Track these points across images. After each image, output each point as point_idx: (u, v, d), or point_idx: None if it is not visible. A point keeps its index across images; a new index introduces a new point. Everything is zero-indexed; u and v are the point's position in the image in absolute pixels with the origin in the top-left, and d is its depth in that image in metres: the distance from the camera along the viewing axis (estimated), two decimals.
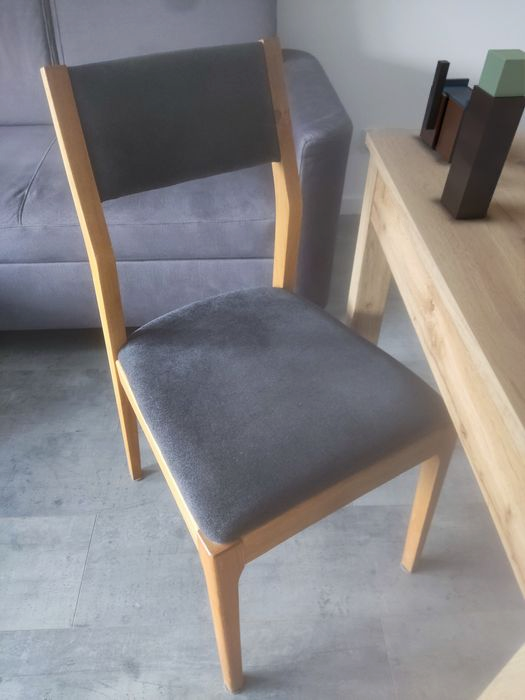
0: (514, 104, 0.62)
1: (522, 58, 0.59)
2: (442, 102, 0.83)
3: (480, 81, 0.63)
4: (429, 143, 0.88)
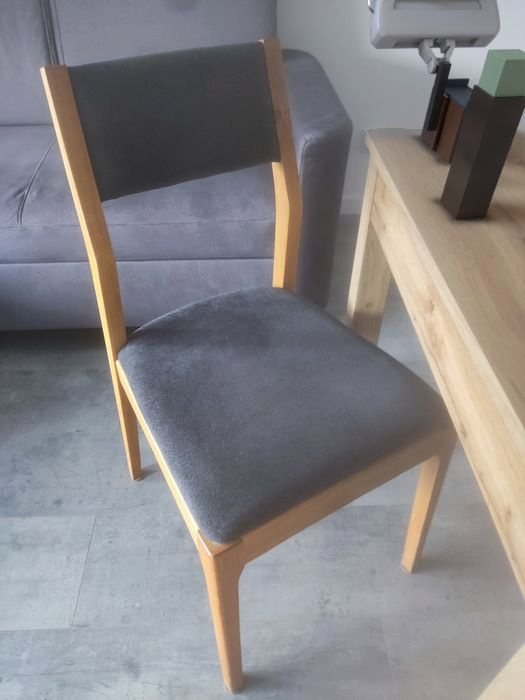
0: (514, 104, 0.62)
1: (522, 58, 0.59)
2: (443, 103, 0.83)
3: (480, 81, 0.63)
4: (430, 144, 0.88)
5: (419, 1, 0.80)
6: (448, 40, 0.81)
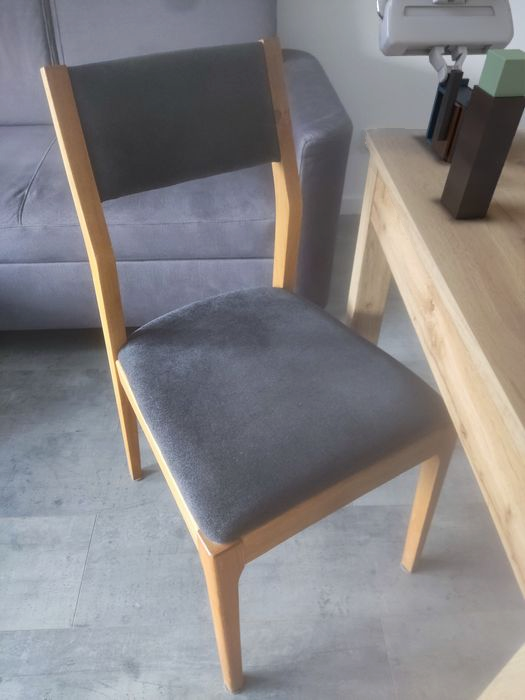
0: (514, 104, 0.62)
1: (522, 58, 0.59)
2: (455, 113, 0.80)
3: (480, 81, 0.63)
4: (440, 154, 0.85)
5: (430, 7, 0.77)
6: (460, 47, 0.78)
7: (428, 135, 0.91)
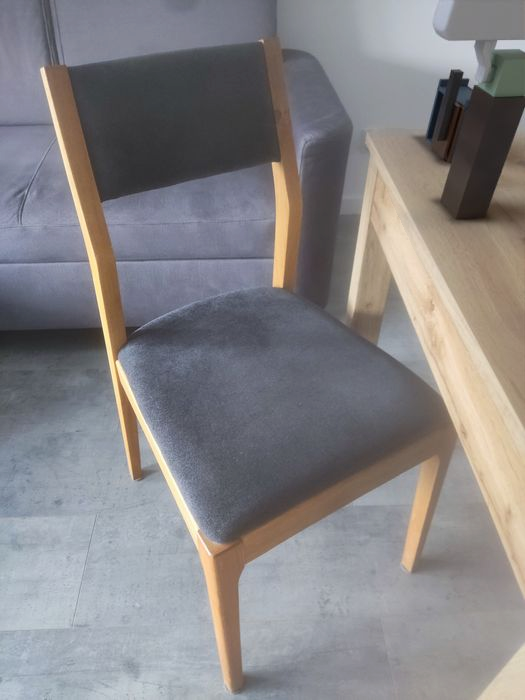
0: (514, 104, 0.62)
1: (522, 58, 0.59)
2: (455, 113, 0.80)
3: None
4: (440, 154, 0.85)
5: None
6: None
7: (428, 135, 0.91)
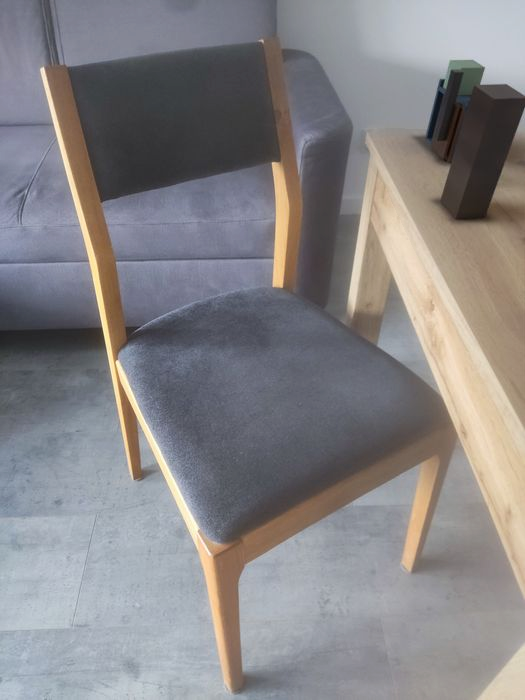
0: (514, 104, 0.62)
1: (473, 66, 0.80)
2: (455, 113, 0.80)
3: (444, 83, 0.85)
4: (440, 154, 0.85)
5: None
6: None
7: (428, 135, 0.91)
